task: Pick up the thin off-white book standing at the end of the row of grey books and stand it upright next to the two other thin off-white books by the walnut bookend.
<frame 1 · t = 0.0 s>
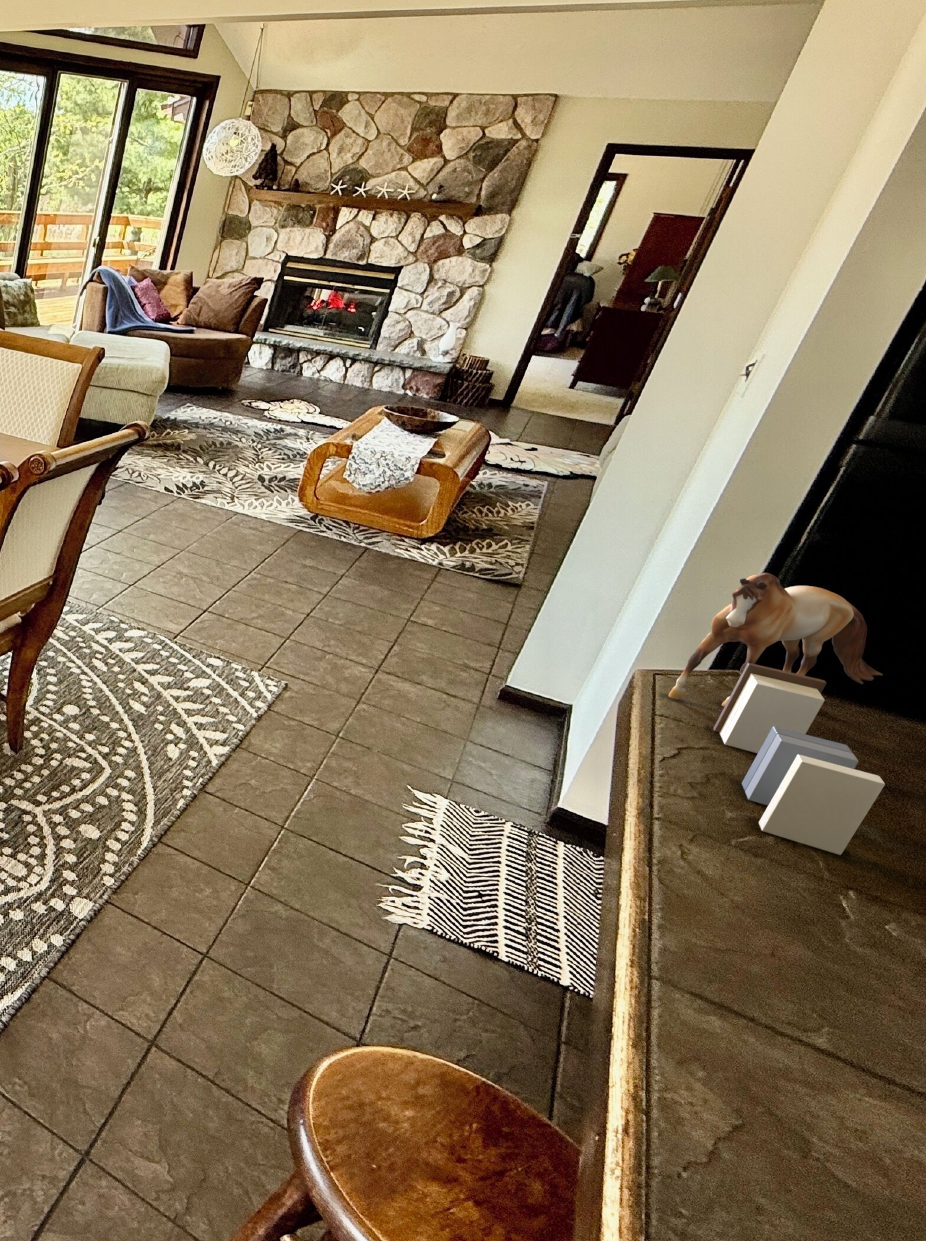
horse figurine: (768, 711, 124), on the countertop
white books: (753, 747, 114), on the countertop
white book: (798, 838, 95), on the countertop
grey books: (780, 802, 102), on the countertop
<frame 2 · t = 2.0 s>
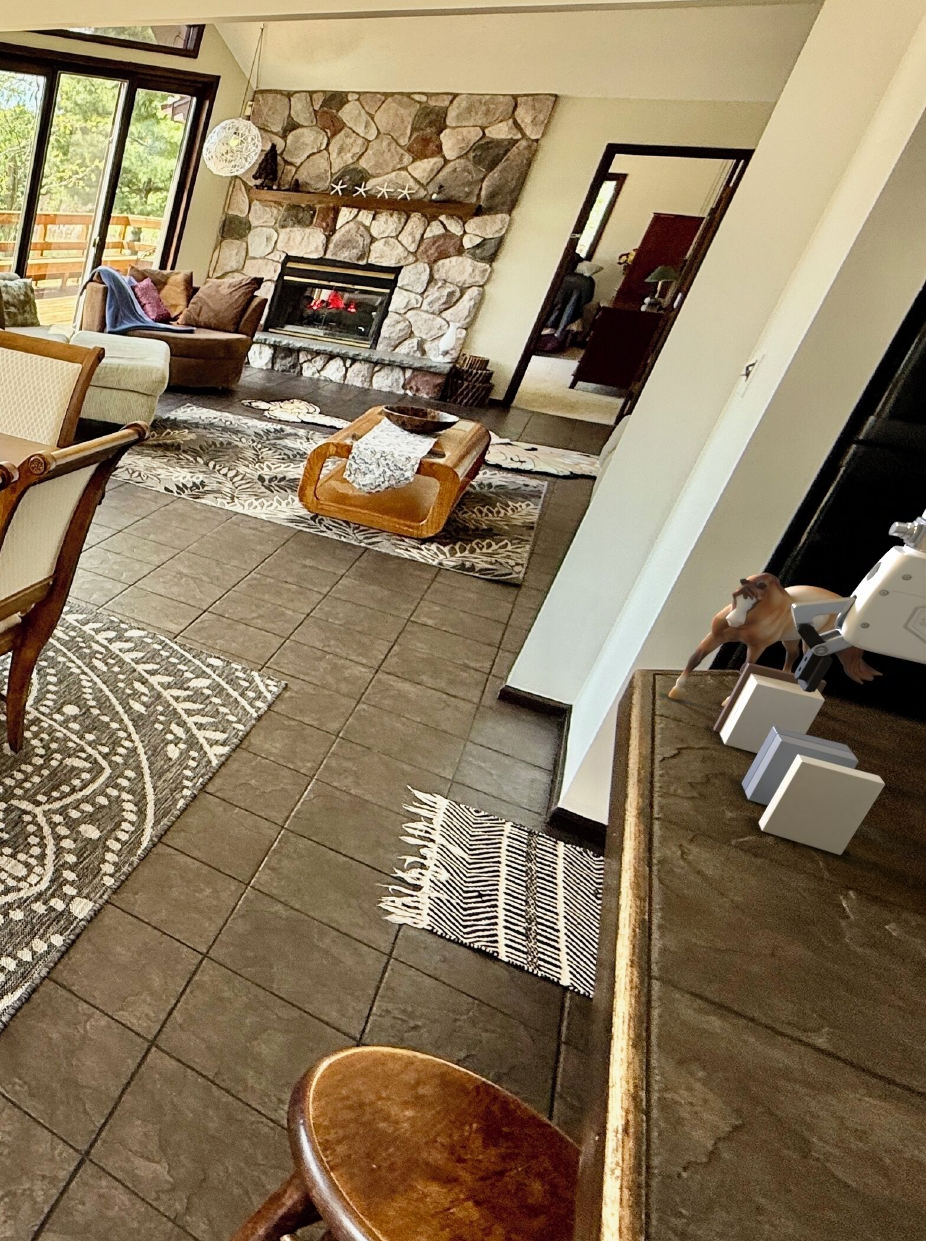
hand: (872, 704, 90), 16 cm above the countertop, tool pointing down, fingers open, 9 cm apart
nothing on the countertop moved.
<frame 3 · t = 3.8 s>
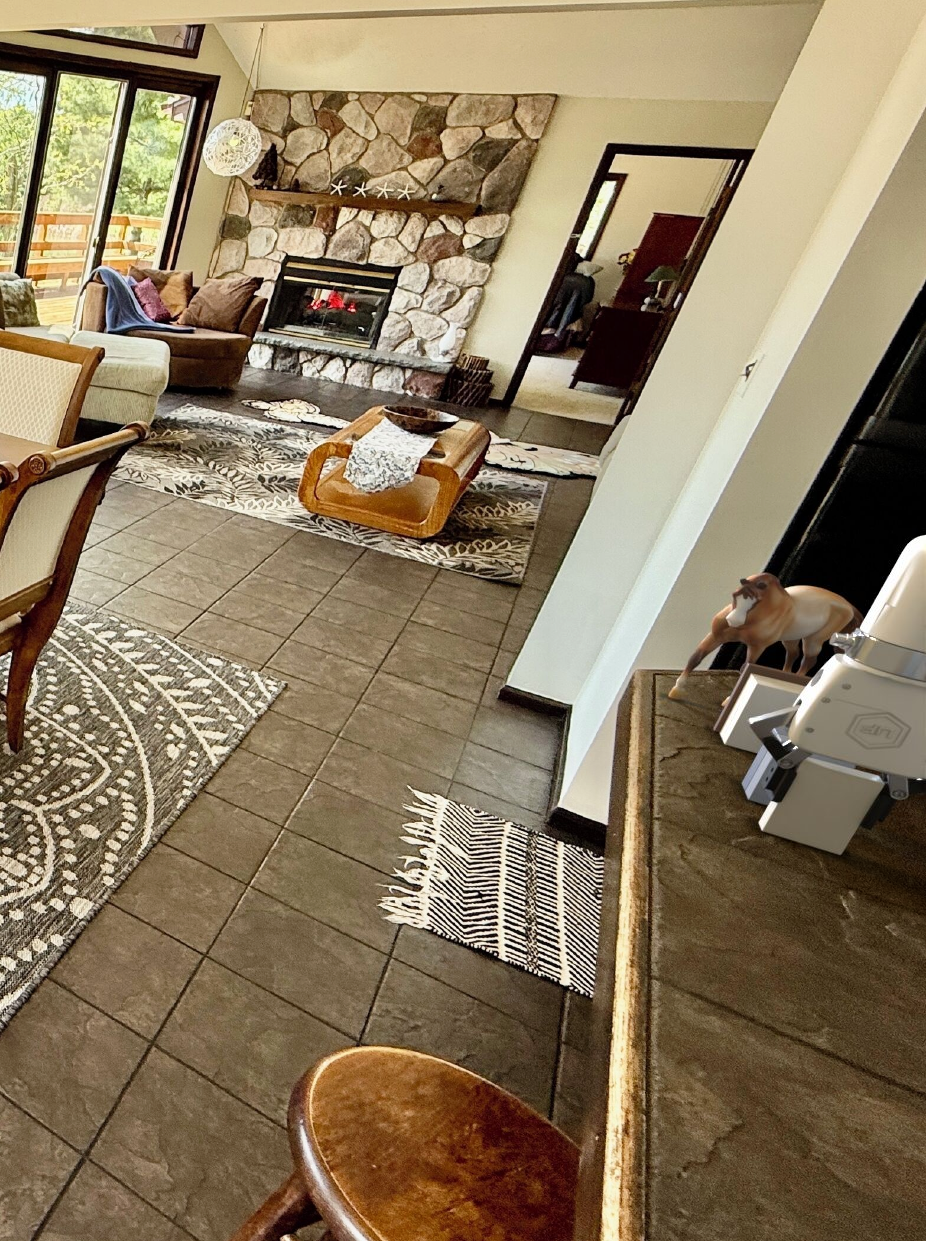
hand: (816, 808, 94), 4 cm above the countertop, tool pointing down, fingers closed on white book, 6 cm apart
white book: (798, 838, 95), on the countertop, touching gripper
everything else where it was.
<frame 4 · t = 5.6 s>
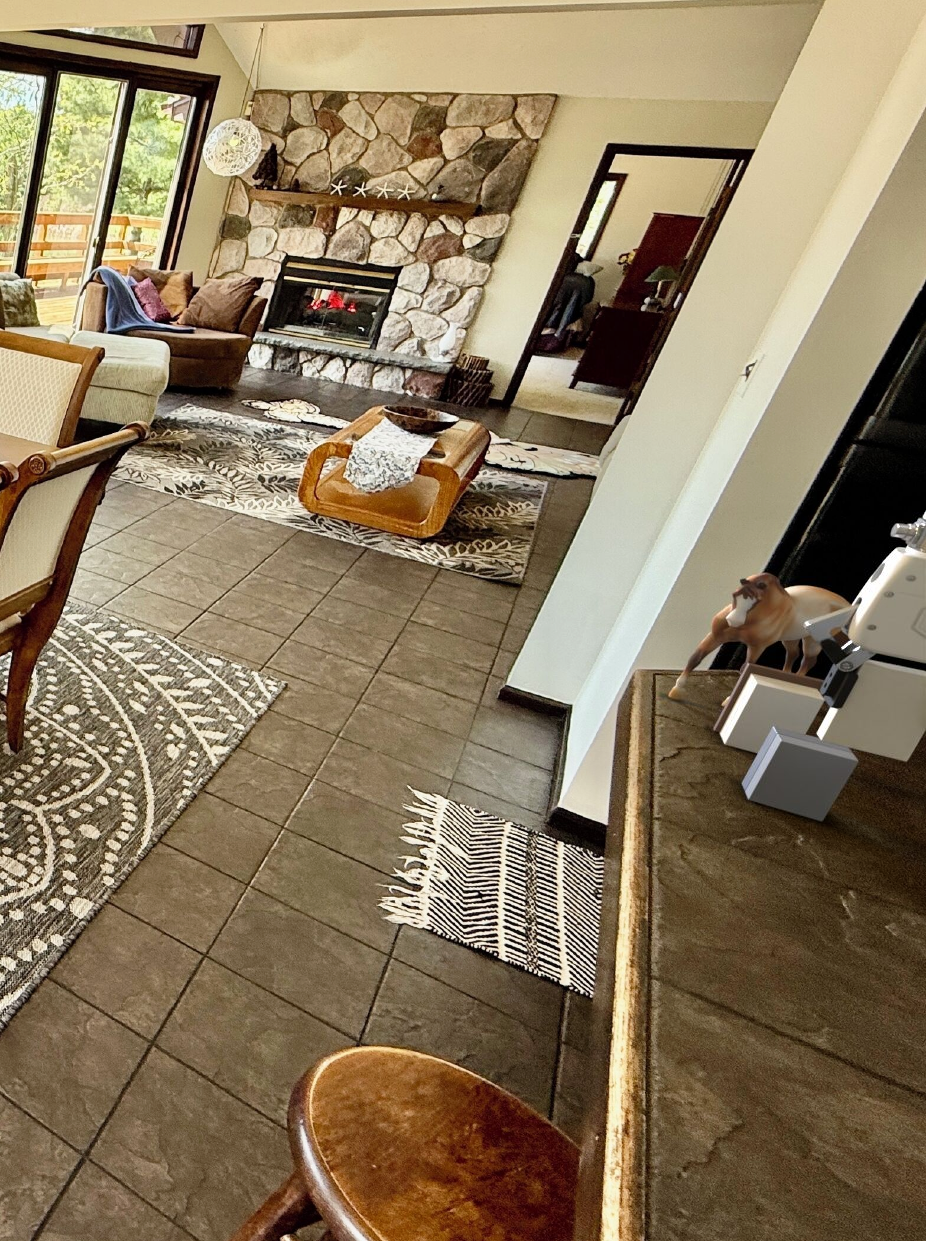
hand: (879, 713, 89), 16 cm above the countertop, tool pointing down, fingers closed on white book, 6 cm apart
white book: (860, 747, 91), point 12 cm above the countertop, touching gripper
everything else where it was.
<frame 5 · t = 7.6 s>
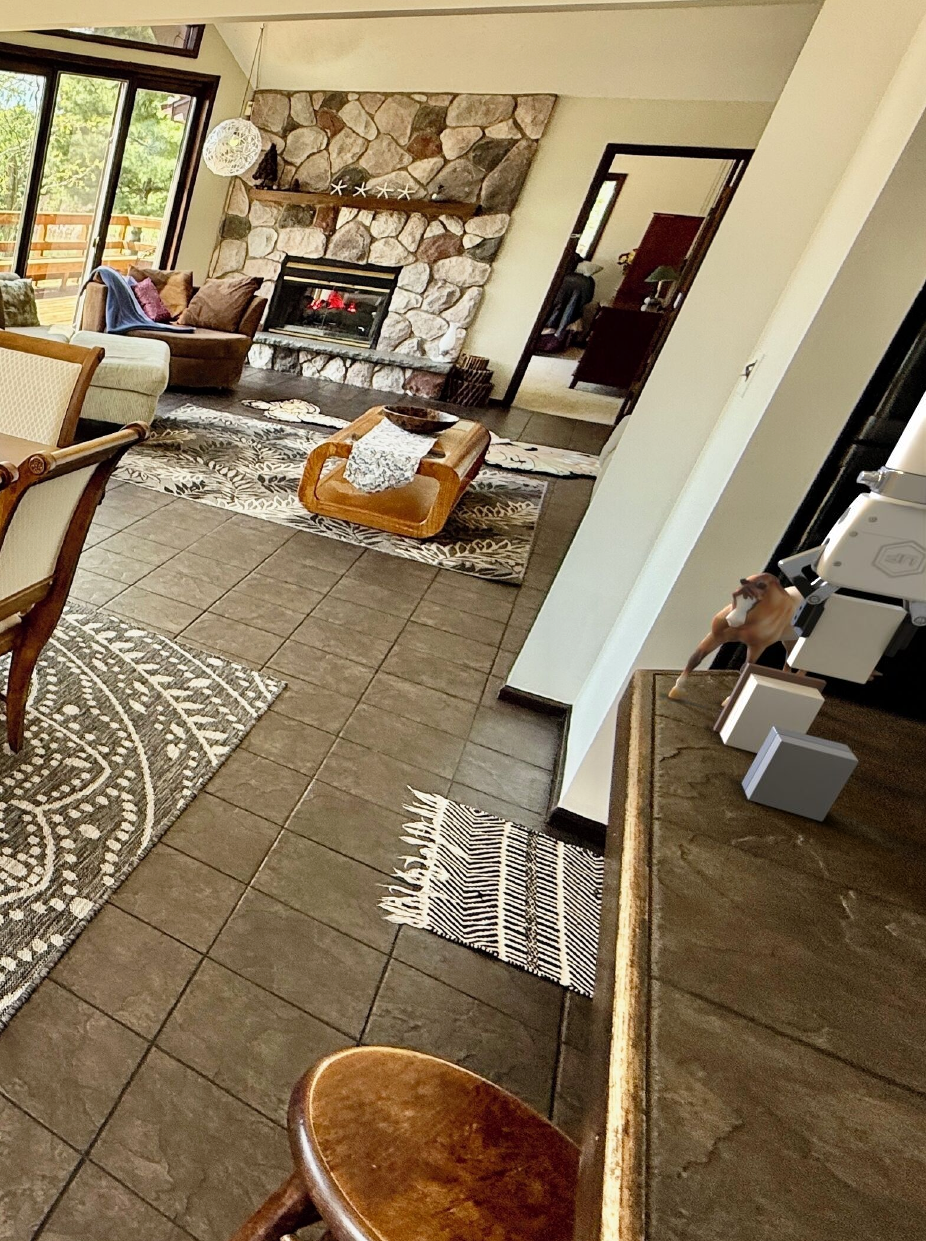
hand: (842, 641, 100), 18 cm above the countertop, tool pointing down, fingers closed on white book, 6 cm apart
white book: (824, 672, 102), point 14 cm above the countertop, touching gripper
everything else where it was.
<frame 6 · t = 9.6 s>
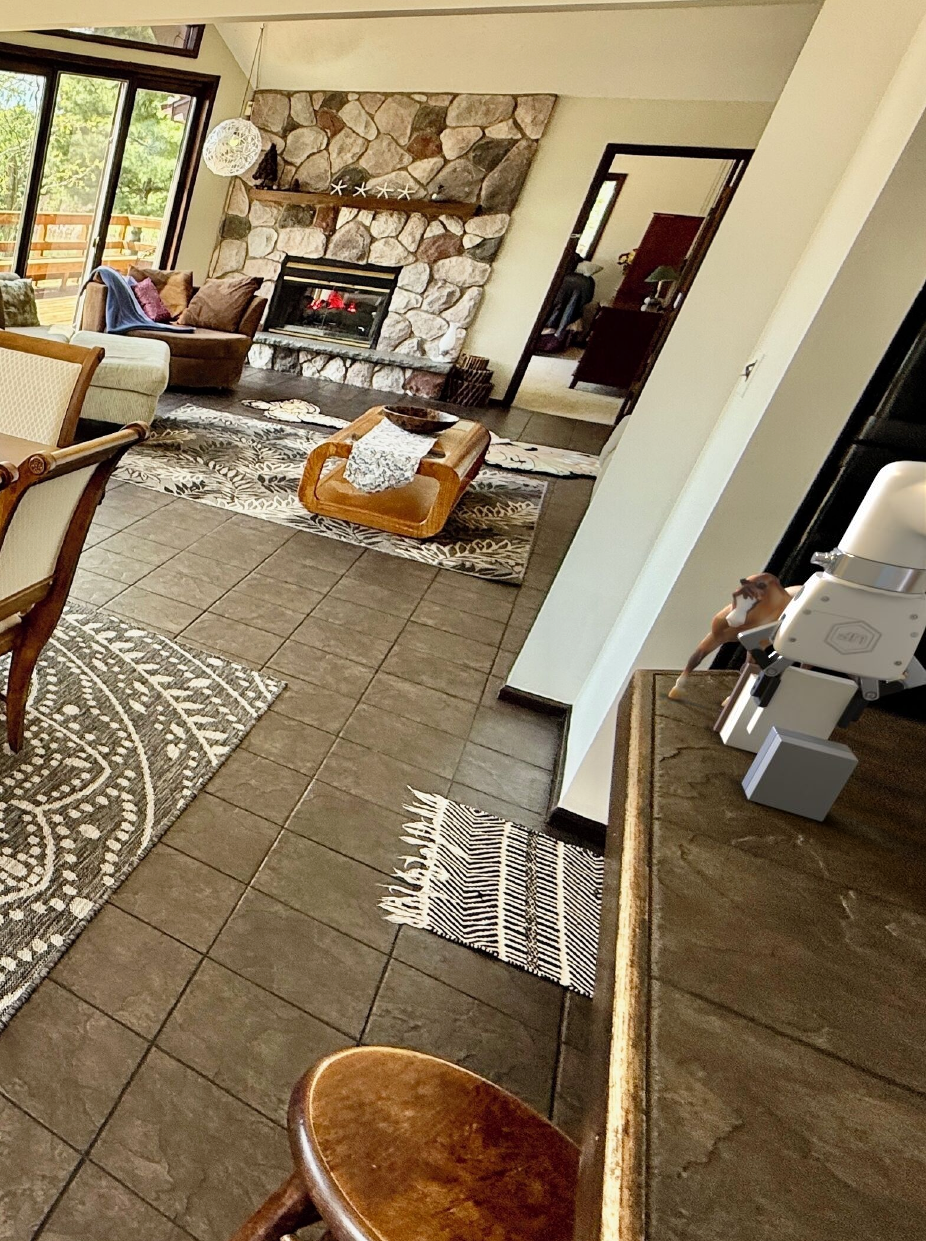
hand: (798, 712, 105), 9 cm above the countertop, tool pointing down, fingers closed on white book, 6 cm apart
white book: (781, 740, 106), point 5 cm above the countertop, touching gripper
everything else where it was.
when the fingers open (4 cm above the countertop, at t = 11.2 s): white book stays where it is, on the countertop.
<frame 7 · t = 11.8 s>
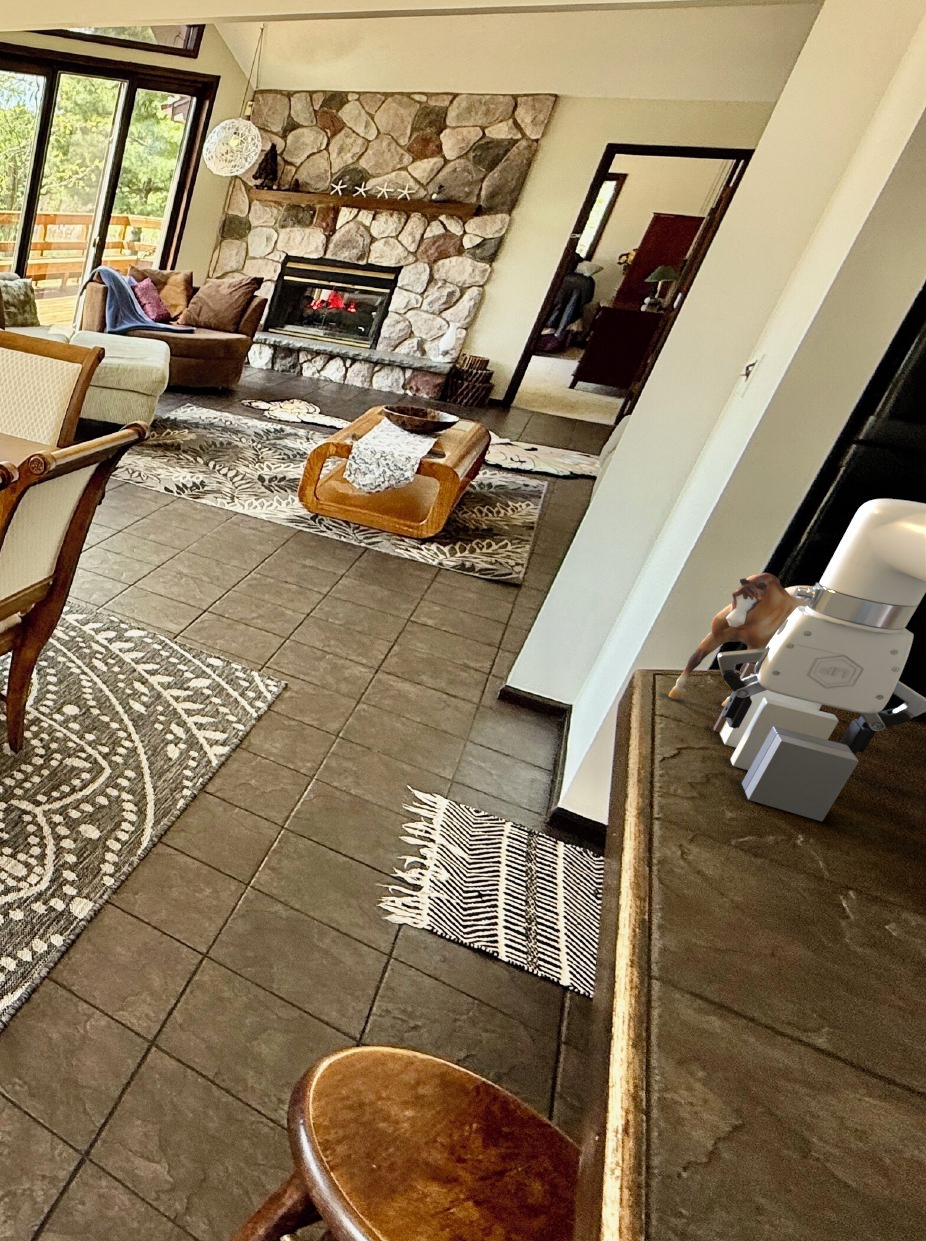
hand: (786, 738, 106), 5 cm above the countertop, tool pointing down, fingers open, 9 cm apart
white book: (764, 772, 108), on the countertop
everything else where it was.
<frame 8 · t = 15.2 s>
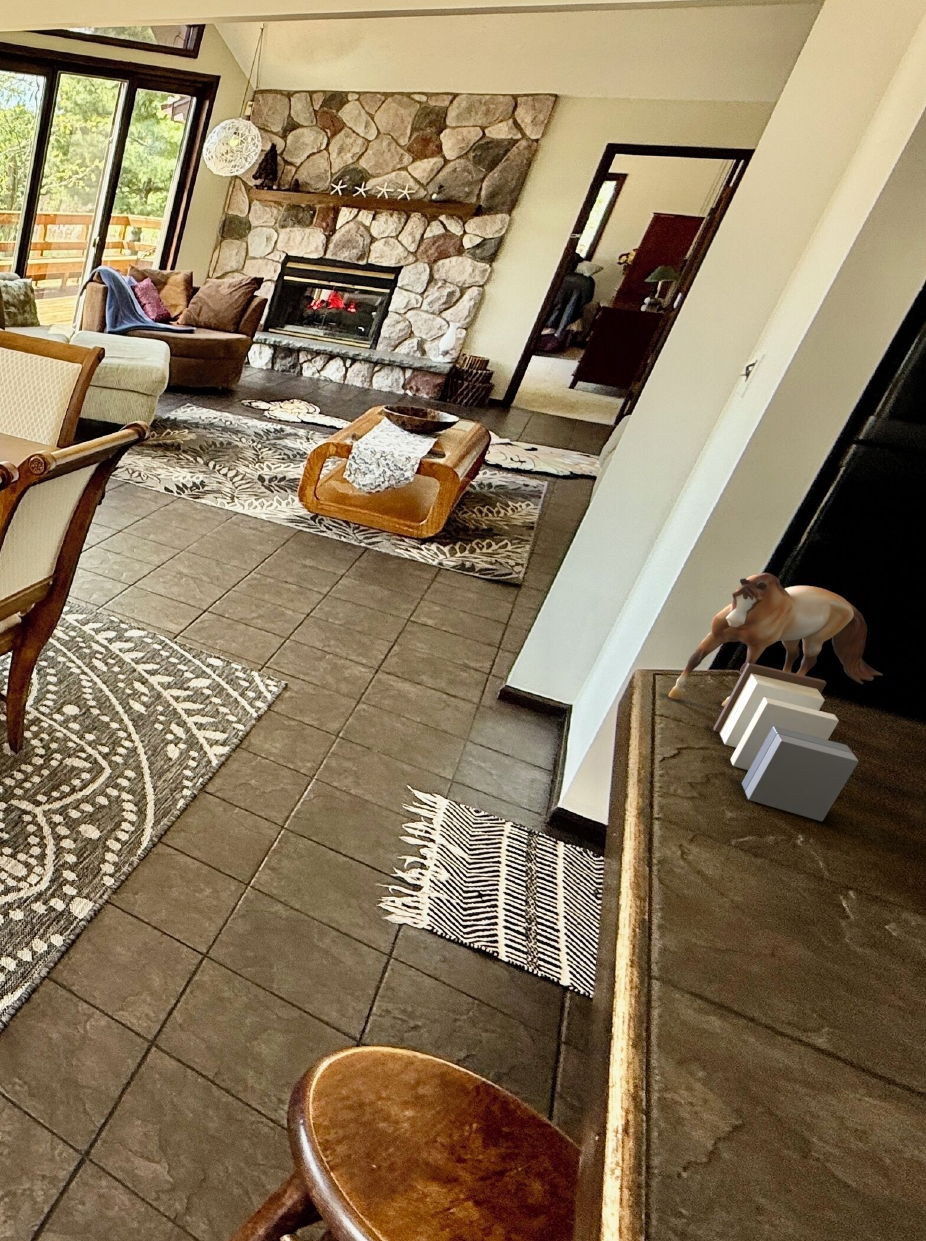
nothing on the countertop moved.
at the end: white book 0.2 cm from the target spot, on the countertop; white book tilted 0°; the gripper is holding nothing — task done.
